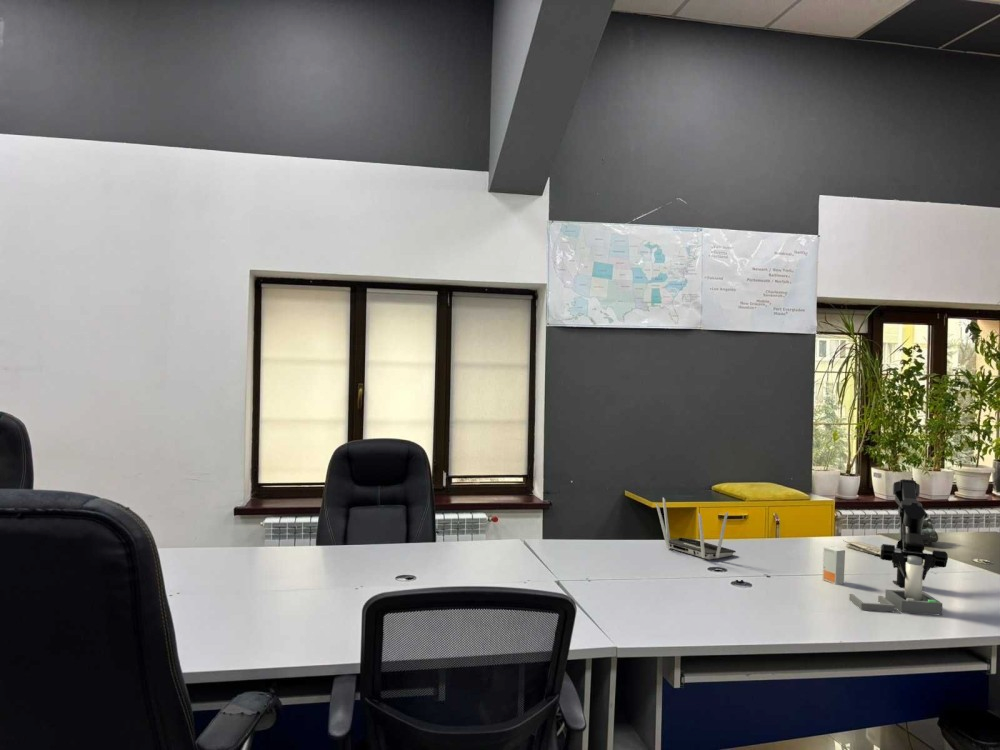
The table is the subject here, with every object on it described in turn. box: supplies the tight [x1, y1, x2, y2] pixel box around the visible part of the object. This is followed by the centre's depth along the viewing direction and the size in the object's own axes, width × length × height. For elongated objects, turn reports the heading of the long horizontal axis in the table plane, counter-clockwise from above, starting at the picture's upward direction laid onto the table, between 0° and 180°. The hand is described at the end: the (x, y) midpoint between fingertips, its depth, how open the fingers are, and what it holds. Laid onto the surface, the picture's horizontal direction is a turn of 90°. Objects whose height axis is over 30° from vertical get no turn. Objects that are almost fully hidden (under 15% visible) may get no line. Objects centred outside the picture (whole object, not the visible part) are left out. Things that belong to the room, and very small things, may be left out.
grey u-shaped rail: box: [848, 593, 896, 612], centre depth 231 cm, size 10×10×2 cm
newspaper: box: [843, 540, 925, 566], centre depth 298 cm, size 35×12×4 cm, turn 27°
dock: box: [884, 589, 943, 616], centre depth 231 cm, size 12×12×4 cm
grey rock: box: [897, 517, 939, 545], centre depth 325 cm, size 15×12×14 cm
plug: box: [904, 556, 924, 600], centre depth 231 cm, size 5×5×13 cm
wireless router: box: [655, 496, 736, 560], centre depth 292 cm, size 34×23×20 cm
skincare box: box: [822, 545, 846, 585], centre depth 257 cm, size 6×4×12 cm
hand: (914, 578), depth 230 cm, fingers closed on plug, 5 cm apart
